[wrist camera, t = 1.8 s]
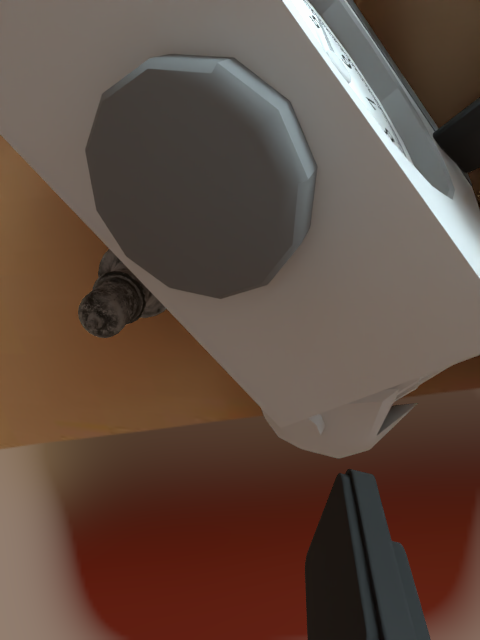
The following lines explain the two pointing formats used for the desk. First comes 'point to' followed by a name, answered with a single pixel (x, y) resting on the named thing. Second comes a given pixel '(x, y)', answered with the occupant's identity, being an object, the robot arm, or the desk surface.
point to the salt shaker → (116, 299)
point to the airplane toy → (462, 137)
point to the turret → (351, 422)
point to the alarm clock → (255, 184)
